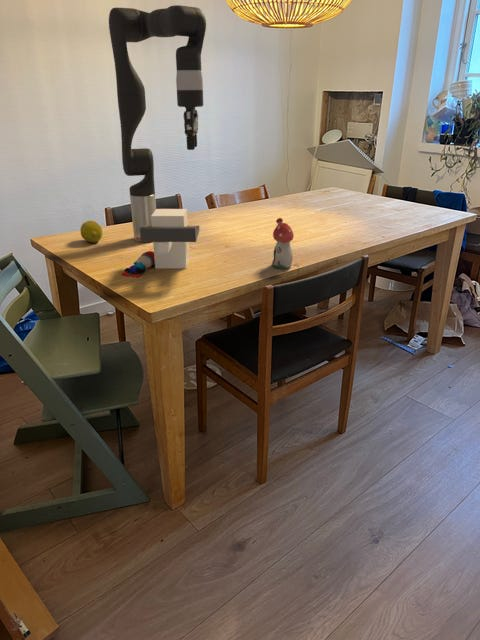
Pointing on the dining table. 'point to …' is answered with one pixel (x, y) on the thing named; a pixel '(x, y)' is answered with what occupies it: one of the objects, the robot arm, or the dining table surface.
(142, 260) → the toy figure
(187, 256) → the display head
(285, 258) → the decorative ornament
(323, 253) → the dining table surface
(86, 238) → the lemon
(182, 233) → the grey u-shaped bracket
